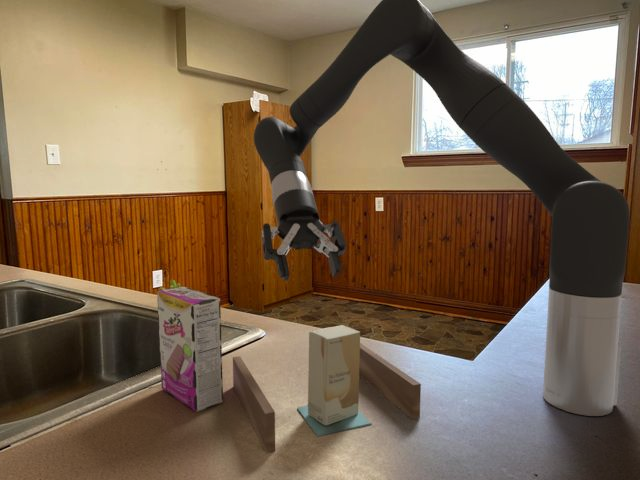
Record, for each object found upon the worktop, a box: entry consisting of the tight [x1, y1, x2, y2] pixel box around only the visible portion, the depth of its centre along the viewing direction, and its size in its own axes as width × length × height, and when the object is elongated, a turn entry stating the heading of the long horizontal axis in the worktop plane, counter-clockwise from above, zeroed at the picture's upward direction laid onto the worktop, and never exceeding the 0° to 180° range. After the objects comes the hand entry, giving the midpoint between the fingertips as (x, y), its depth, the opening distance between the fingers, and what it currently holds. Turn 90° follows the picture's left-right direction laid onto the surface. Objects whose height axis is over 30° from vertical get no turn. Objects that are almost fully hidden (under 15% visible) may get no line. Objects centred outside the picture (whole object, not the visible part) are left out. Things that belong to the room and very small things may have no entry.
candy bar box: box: [156, 286, 224, 413], centre depth 69 cm, size 11×5×16 cm, turn 45°
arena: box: [232, 342, 422, 453], centre depth 68 cm, size 22×20×5 cm
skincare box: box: [307, 324, 361, 425], centre depth 63 cm, size 6×4×12 cm
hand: (312, 276), depth 73 cm, fingers open, 8 cm apart
